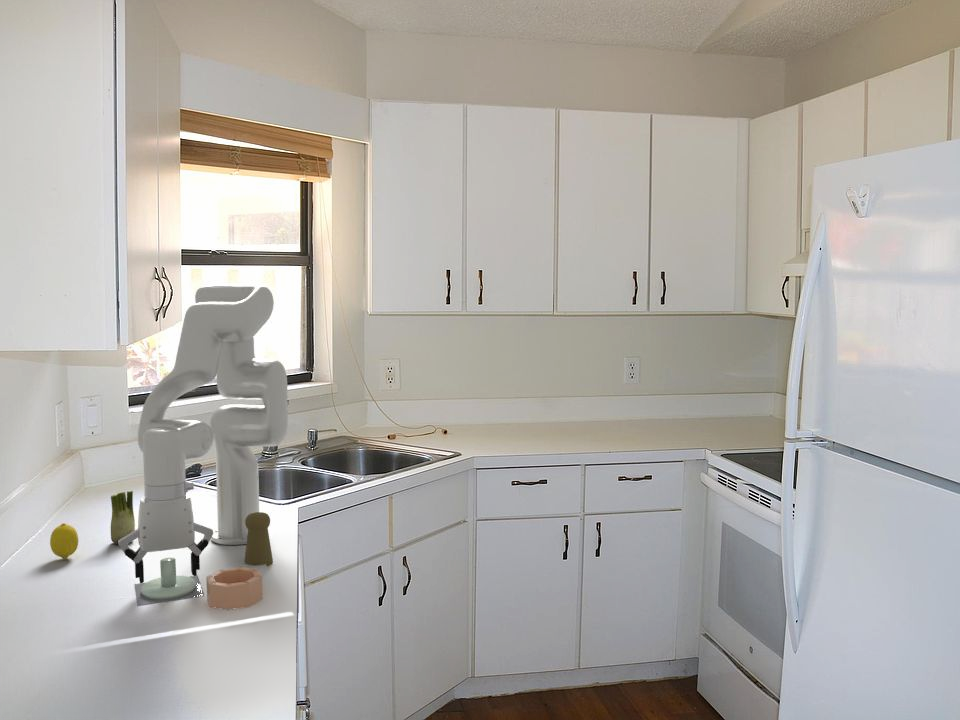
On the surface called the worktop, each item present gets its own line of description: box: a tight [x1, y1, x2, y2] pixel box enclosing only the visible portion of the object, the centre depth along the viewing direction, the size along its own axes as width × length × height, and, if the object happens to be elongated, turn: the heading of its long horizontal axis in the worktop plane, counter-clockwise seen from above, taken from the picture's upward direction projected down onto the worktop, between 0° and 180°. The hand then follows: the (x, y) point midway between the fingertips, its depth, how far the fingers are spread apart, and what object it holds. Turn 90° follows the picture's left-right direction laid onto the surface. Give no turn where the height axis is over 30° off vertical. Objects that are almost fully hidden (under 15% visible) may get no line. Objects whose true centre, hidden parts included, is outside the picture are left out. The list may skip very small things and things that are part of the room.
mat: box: [134, 574, 205, 607], centre depth 165 cm, size 12×12×1 cm
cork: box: [244, 511, 274, 567], centre depth 181 cm, size 6×6×11 cm
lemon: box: [49, 522, 79, 560], centre depth 184 cm, size 6×6×8 cm
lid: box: [141, 557, 196, 600], centre depth 165 cm, size 10×10×6 cm
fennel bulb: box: [110, 490, 136, 545], centre depth 195 cm, size 6×5×12 cm
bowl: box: [206, 566, 263, 610], centre depth 160 cm, size 10×10×5 cm
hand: (168, 577), depth 164 cm, fingers open, 9 cm apart
